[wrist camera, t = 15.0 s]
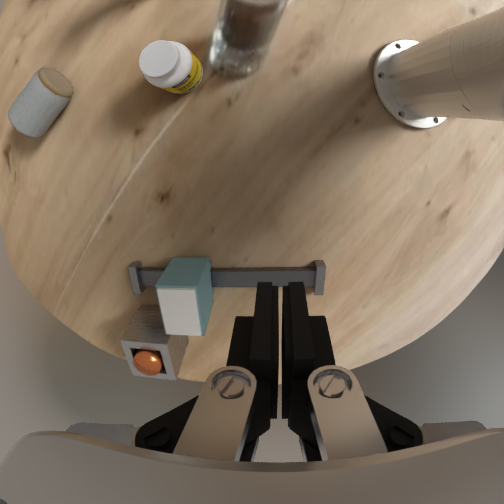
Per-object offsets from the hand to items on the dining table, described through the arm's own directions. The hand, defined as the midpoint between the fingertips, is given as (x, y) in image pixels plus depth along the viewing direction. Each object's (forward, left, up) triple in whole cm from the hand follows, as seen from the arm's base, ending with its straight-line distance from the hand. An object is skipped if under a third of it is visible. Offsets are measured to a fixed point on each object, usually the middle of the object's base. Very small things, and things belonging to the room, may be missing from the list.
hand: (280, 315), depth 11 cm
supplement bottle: (+10, -15, -28) cm, 33 cm away
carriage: (+10, +13, -28) cm, 32 cm away
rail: (+6, +13, -28) cm, 31 cm away
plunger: (+17, +22, -26) cm, 38 cm away
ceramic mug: (+32, -16, -28) cm, 45 cm away
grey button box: (+17, +22, -28) cm, 39 cm away
